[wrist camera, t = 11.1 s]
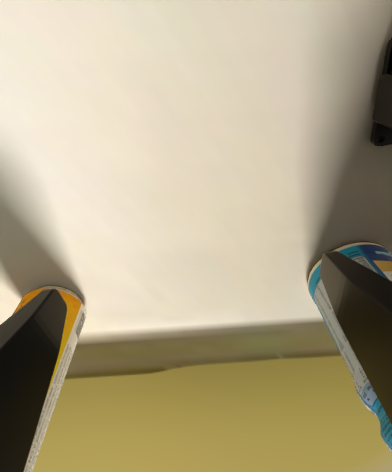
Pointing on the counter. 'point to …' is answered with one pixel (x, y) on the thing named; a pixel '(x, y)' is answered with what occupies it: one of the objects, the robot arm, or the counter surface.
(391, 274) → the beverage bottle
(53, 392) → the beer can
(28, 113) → the counter surface
